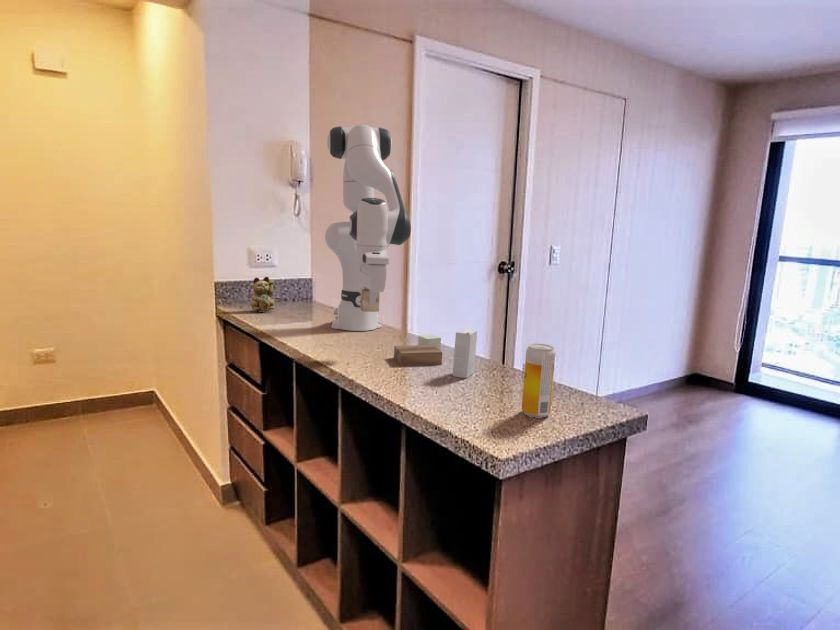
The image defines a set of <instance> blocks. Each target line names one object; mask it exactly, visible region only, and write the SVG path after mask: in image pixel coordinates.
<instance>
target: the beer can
mask: <svg viewBox="0 0 840 630" xmlns="http://www.w3.org/2000/svg"><path fill="white" fill-rule="evenodd" d="M555 363H556V350H555V347H554V346H553V345H549V344H543V343H530V344H528V346H527V348H526V350H525V362H524V373H523V374H524V375H523V387H522V397H521V398H522V399H521V412H523V415H525V416H526V415H527V416H526V417H529V418H533V417H535V418H534V419H543V418H542V417H545V418H547V417H548V415H550V413H551V410H552V408H551V407H552V397H553V396H552V394H553V386H554V385H553V383H554V376H555V375H554V373H555V365H556V364H555ZM546 416H547V417H546Z"/></svg>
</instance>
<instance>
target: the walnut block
mask: <svg viewBox="0 0 840 630" xmlns="http://www.w3.org/2000/svg"><path fill="white" fill-rule="evenodd" d="M393 359H395V361H396V362H397V363H398V364H399V365H400V366H401V367H407V366H409V367H410V366H432V365H433V366H434V365H436V366H437V365H439V366H440V365H442V364H443V352H442V350H441V349H440V350H439V349H438V348H436V347H435V346H434V345H417V344H416V345H393Z"/></svg>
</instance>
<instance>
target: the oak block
mask: <svg viewBox="0 0 840 630" xmlns="http://www.w3.org/2000/svg"><path fill="white" fill-rule="evenodd" d="M380 293H381V292H377V297H376V304H375V305H370V304H369V295H370V293H369V289H361V306H360V309H361V310H362V311H363V312H377V313H379V311H380Z"/></svg>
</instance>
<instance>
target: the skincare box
mask: <svg viewBox="0 0 840 630" xmlns="http://www.w3.org/2000/svg"><path fill="white" fill-rule="evenodd" d="M477 338H478V330H477V329H468V328H462V329H460V330H458V331H456V332H455V341H454V350H453V351H454V353H453V364H452V365H453V367H452V377H456V378H461V379H468V378H469V377H470V376H472V375H473V374H474V373H475V367H476V366H475V364H476V353H477V352H476V351H477V341H478V340H477Z"/></svg>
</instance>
